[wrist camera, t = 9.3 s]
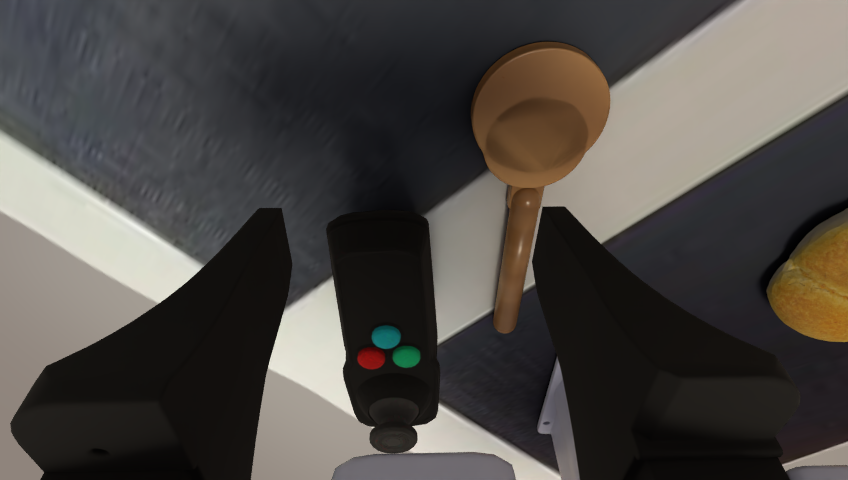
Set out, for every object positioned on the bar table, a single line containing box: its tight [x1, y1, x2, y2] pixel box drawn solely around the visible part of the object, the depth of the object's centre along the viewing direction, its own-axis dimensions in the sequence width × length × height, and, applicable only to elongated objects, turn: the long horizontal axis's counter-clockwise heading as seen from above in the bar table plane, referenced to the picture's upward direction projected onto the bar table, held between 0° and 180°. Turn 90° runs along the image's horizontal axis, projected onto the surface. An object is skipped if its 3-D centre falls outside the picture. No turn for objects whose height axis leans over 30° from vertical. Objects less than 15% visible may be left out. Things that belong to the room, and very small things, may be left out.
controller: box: [326, 210, 440, 453], centre depth 24 cm, size 4×12×10 cm, turn 2°
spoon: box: [471, 42, 610, 333], centre depth 27 cm, size 17×6×1 cm, turn 179°
